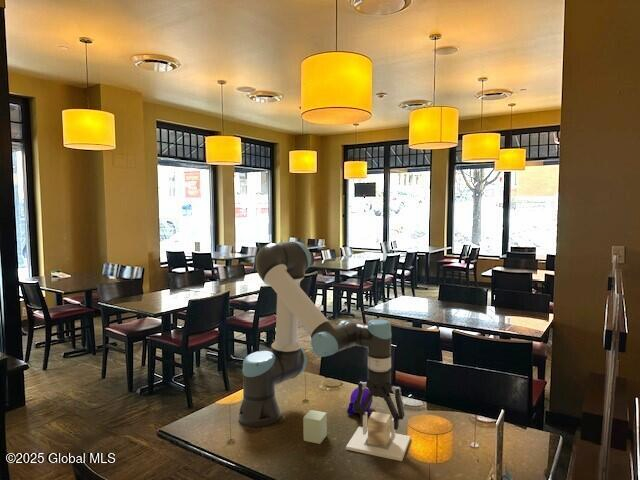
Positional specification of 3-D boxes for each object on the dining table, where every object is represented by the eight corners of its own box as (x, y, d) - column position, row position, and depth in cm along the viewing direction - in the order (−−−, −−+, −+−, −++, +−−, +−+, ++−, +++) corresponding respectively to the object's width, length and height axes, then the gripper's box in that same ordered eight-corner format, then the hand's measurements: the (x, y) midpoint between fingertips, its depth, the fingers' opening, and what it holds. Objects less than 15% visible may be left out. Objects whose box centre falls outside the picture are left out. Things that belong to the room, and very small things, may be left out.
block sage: (303, 440, 147) (303, 417, 147) (310, 432, 153) (310, 409, 152) (320, 444, 145) (320, 420, 144) (326, 435, 150) (326, 412, 150)
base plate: (346, 449, 142) (346, 445, 141) (358, 429, 154) (358, 425, 154) (401, 461, 135) (401, 457, 135) (410, 439, 148) (410, 435, 148)
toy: (368, 426, 159) (374, 403, 173) (367, 401, 158) (374, 381, 172) (344, 422, 162) (353, 401, 176) (343, 398, 160) (352, 378, 174)
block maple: (367, 443, 143) (367, 419, 142) (372, 434, 148) (372, 411, 148) (385, 447, 140) (386, 422, 140) (390, 438, 146) (390, 414, 145)
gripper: (344, 367, 143) (344, 434, 145) (410, 376, 135) (409, 447, 137) (351, 360, 150) (351, 424, 152) (414, 368, 142) (414, 436, 144)
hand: (379, 435), depth 144 cm, fingers open, 9 cm apart
